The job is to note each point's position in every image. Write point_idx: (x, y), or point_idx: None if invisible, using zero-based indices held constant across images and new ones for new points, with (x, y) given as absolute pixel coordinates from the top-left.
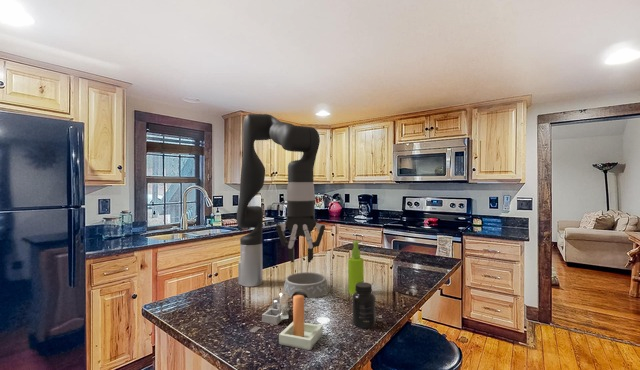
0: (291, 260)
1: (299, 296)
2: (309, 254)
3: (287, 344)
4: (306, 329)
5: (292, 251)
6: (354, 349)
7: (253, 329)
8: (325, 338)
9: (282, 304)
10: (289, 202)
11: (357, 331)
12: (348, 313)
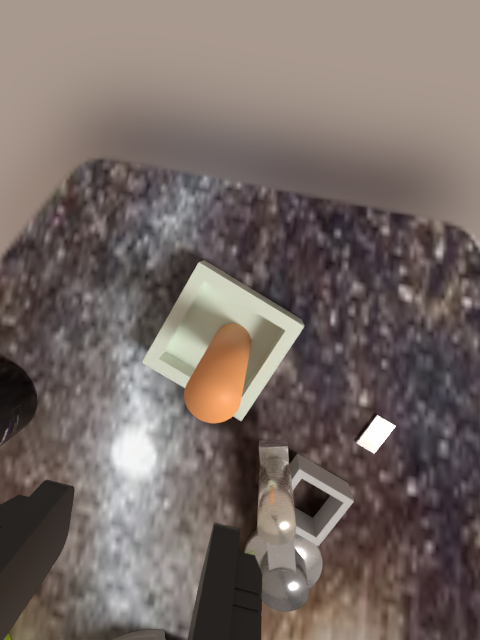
0: (232, 534)
1: (208, 400)
2: (1, 536)
3: (274, 303)
4: None
5: (206, 627)
6: (65, 238)
7: (381, 432)
8: (145, 325)
9: (281, 482)
10: None
11: (34, 350)
12: (41, 481)
